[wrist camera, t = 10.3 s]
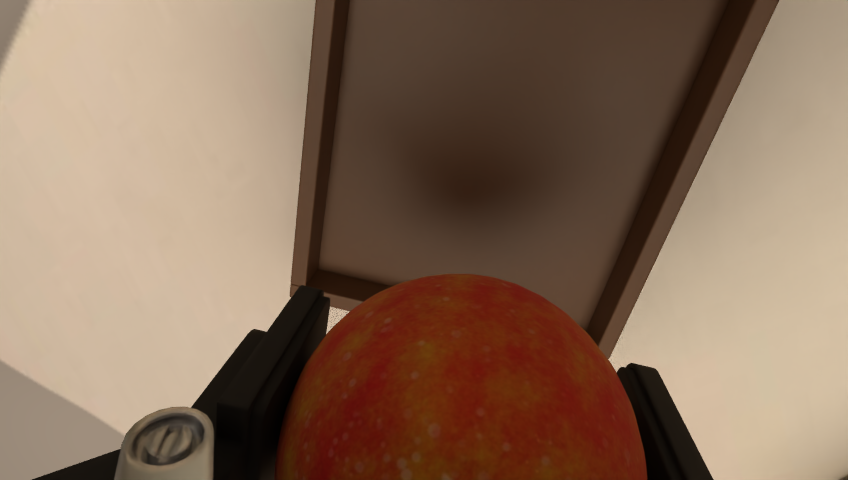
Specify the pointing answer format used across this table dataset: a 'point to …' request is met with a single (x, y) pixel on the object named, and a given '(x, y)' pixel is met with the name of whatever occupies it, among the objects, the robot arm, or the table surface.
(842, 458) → the table surface
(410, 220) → the tray
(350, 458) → the fruit
